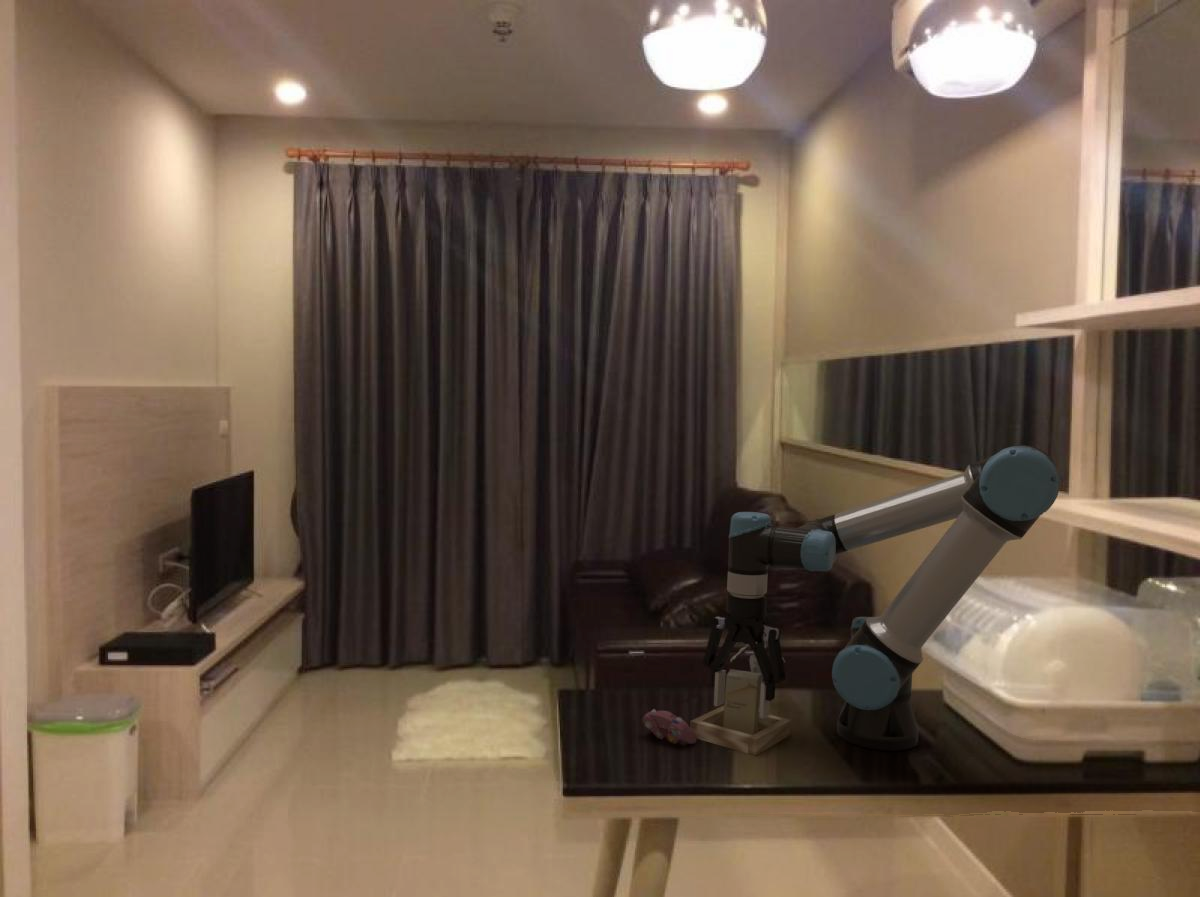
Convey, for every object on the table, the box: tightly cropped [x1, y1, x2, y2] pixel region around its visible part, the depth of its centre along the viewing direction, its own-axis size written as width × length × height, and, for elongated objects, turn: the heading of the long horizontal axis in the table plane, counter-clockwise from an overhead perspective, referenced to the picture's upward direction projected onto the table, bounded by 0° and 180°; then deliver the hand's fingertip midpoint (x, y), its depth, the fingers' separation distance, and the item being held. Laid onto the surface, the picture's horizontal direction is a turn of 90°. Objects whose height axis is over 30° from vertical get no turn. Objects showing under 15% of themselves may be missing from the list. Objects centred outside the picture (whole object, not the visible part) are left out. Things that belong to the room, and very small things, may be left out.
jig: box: [689, 704, 792, 756], centre depth 184 cm, size 14×14×3 cm
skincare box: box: [722, 668, 761, 735], centre depth 183 cm, size 6×4×12 cm
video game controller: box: [641, 708, 698, 745], centre depth 180 cm, size 10×5×7 cm, turn 48°
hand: (741, 710), depth 183 cm, fingers open, 9 cm apart
